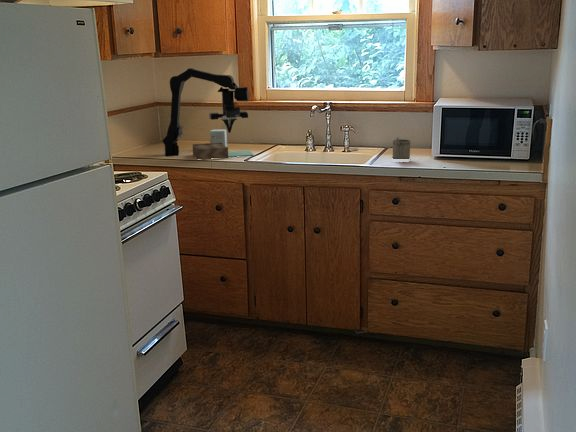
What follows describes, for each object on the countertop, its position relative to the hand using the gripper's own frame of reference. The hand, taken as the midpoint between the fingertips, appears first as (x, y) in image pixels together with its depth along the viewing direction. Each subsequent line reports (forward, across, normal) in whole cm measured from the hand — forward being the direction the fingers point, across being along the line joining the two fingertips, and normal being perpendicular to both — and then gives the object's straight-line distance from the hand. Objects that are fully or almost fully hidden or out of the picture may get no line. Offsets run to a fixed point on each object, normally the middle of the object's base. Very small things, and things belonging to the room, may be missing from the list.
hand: (229, 132), depth 314 cm
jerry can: (+12, +72, -45) cm, 86 cm away
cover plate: (+12, +4, 0) cm, 13 cm away
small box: (+12, -2, +19) cm, 22 cm away
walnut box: (+12, -10, 0) cm, 15 cm away
